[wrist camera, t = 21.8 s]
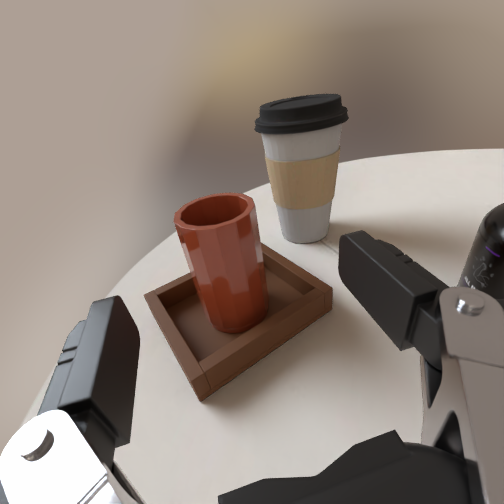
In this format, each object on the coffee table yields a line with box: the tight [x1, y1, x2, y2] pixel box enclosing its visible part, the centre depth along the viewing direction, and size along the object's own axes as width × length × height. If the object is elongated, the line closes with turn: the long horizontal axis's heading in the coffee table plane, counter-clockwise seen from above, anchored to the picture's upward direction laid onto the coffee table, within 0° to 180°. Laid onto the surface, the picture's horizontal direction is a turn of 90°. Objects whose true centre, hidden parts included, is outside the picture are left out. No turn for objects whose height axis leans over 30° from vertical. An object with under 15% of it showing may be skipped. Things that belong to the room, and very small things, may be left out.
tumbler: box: [174, 193, 269, 333], centre depth 23 cm, size 6×6×10 cm
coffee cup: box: [255, 94, 348, 243], centre depth 32 cm, size 9×9×15 cm
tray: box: [144, 243, 333, 402], centre depth 25 cm, size 13×11×2 cm
